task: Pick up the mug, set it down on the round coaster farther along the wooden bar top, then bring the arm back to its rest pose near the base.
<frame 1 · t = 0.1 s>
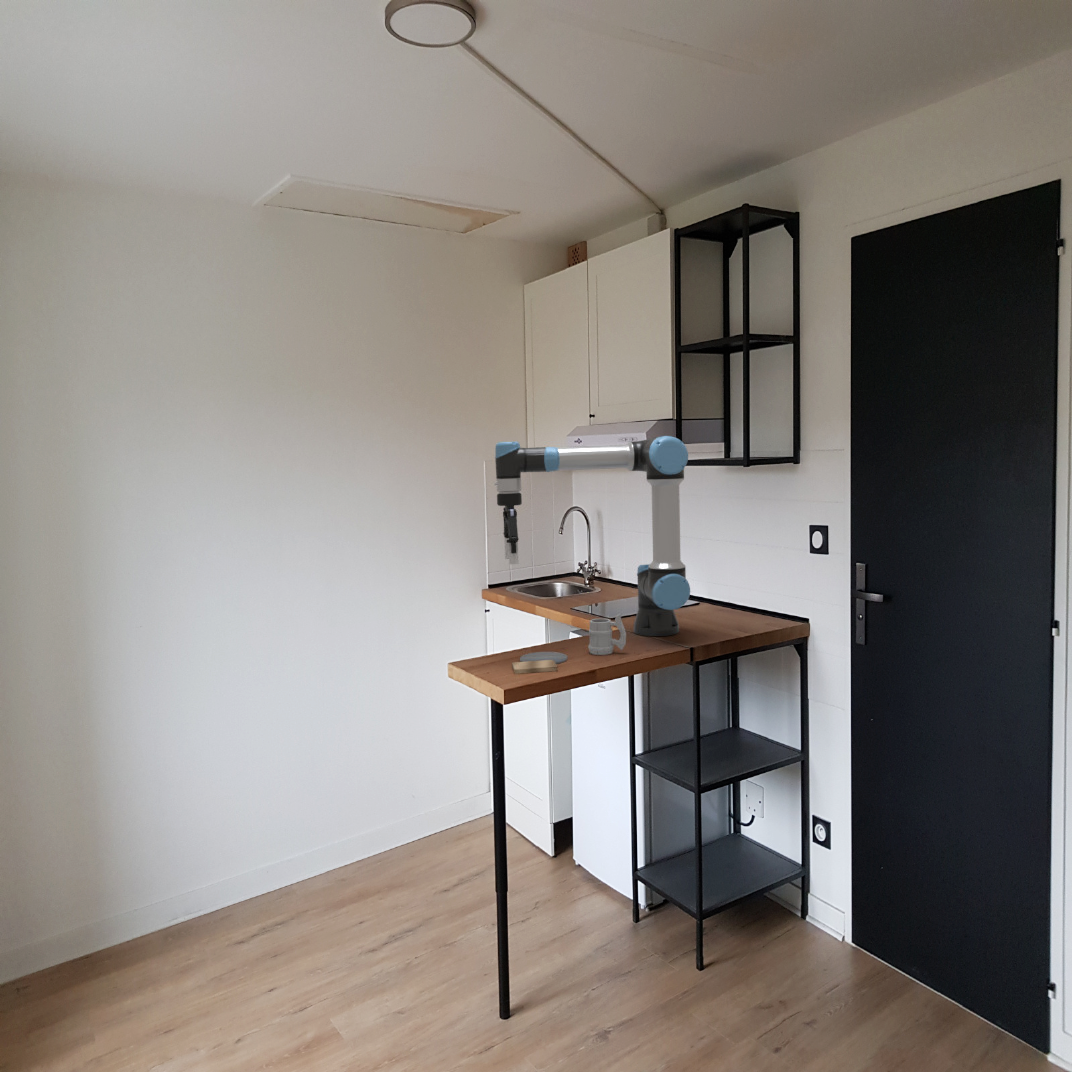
hand: (511, 561, 247), 28 cm above the counter, fingers open, 13 cm apart
coaster: (543, 659, 237), on the counter
small board: (534, 668, 227), on the counter
mug: (607, 653, 243), on the counter
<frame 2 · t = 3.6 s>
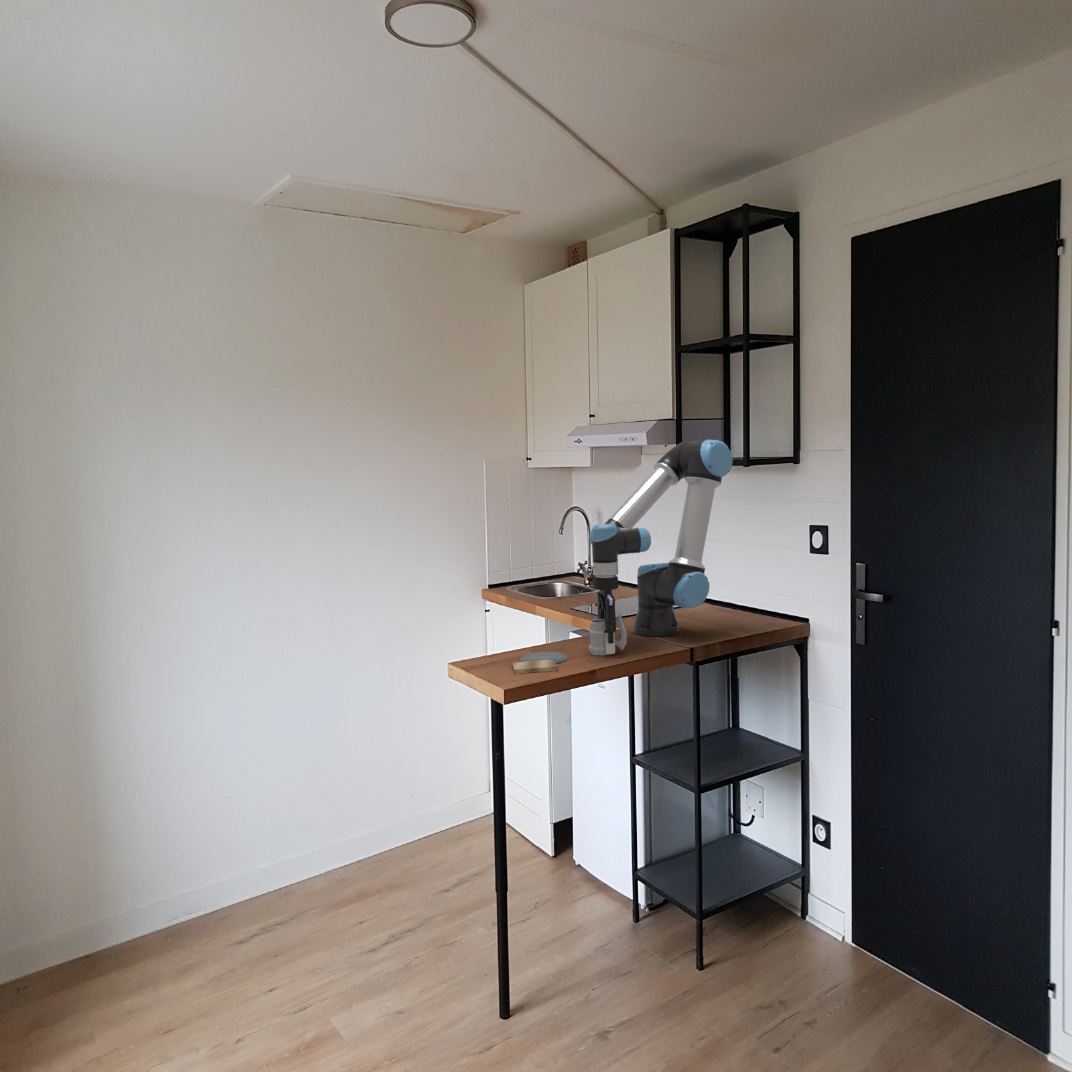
hand: (607, 650, 243), 1 cm above the counter, fingers closed on mug, 8 cm apart
mug: (608, 653, 242), on the counter, touching gripper
when the fingers open (3 cm above the counter, at t = 8.8 s): mug drops 2 cm, resting on coaster.
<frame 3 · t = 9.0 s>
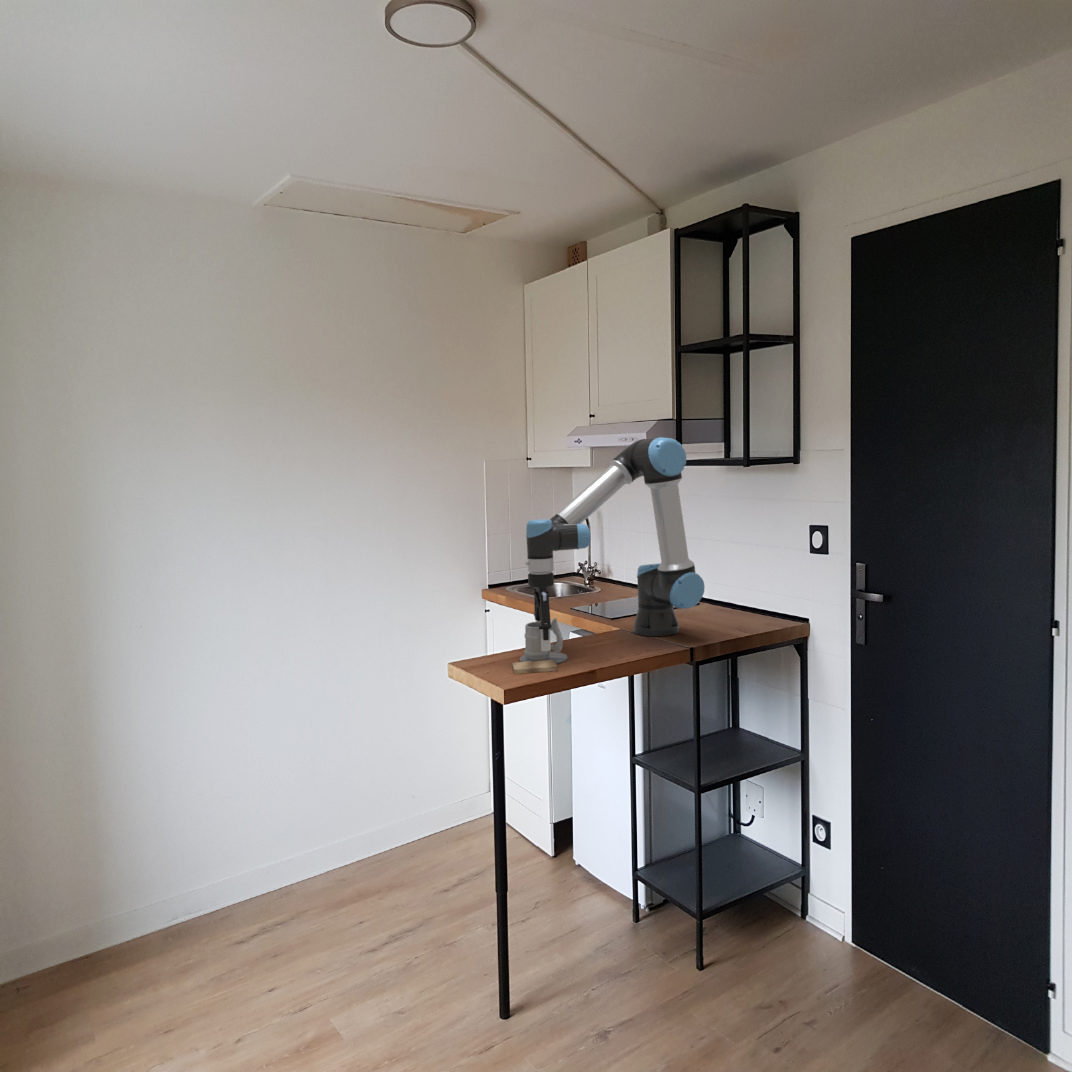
hand: (543, 646, 237), 4 cm above the counter, fingers open, 10 cm apart
mug: (544, 657, 236), point 1 cm above the counter, touching coaster
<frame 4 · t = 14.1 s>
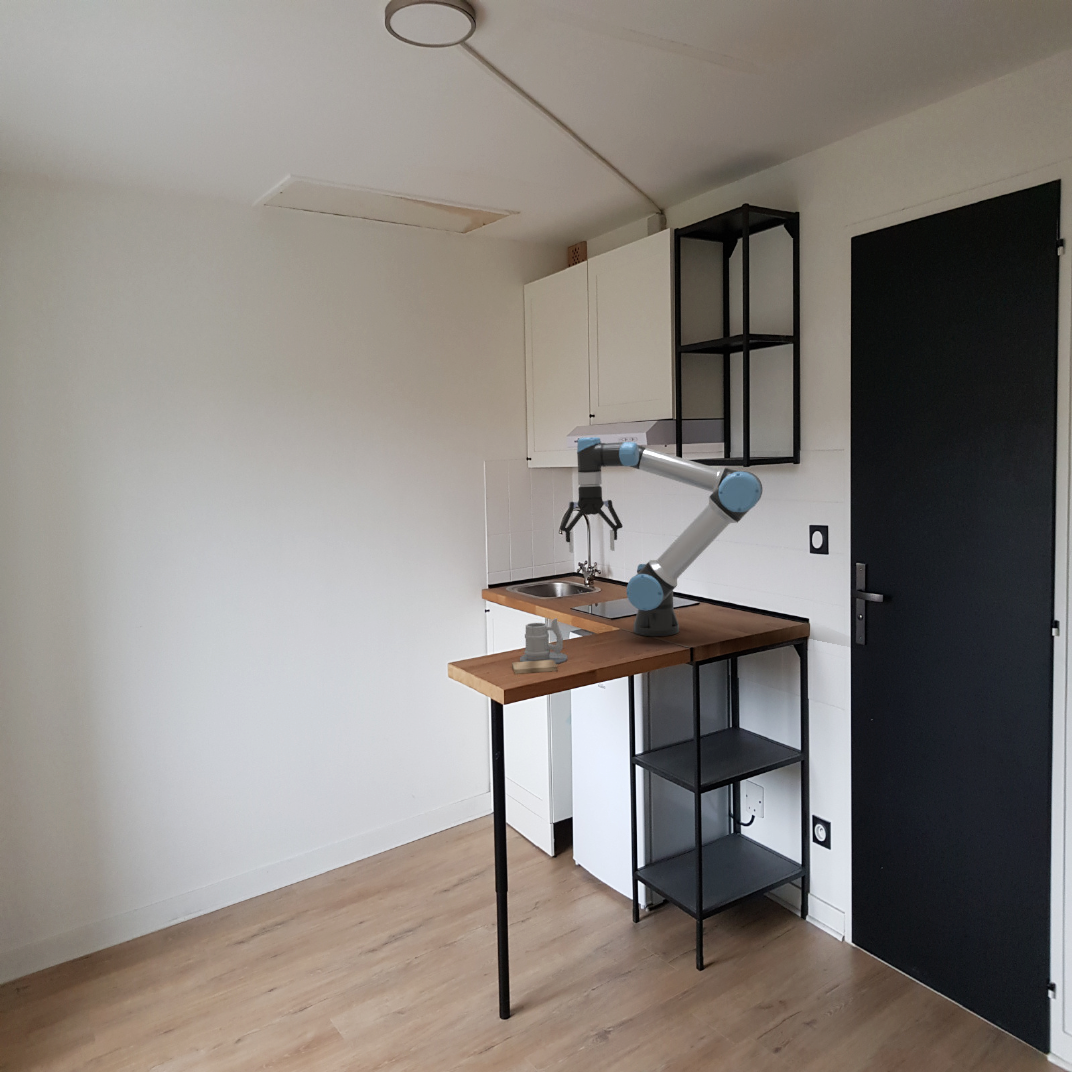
hand: (591, 551, 260), 29 cm above the counter, fingers open, 13 cm apart
nothing on the counter moved.
at the end: mug 0.8 cm from the coaster (horizontally); mug tilted 0°; mug resting on coaster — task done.
